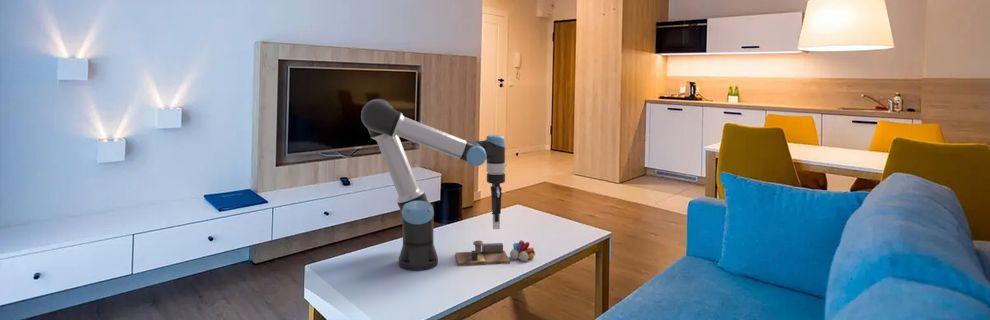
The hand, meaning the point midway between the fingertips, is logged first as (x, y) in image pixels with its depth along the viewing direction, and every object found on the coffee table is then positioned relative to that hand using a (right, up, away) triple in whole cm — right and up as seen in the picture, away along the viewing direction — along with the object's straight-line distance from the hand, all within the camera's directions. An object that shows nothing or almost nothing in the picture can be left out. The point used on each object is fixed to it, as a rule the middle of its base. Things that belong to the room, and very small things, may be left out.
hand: (496, 228), depth 222 cm
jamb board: (-6, -11, -11) cm, 16 cm away
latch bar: (-2, -9, -6) cm, 10 cm away
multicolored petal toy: (+10, -11, -9) cm, 18 cm away
